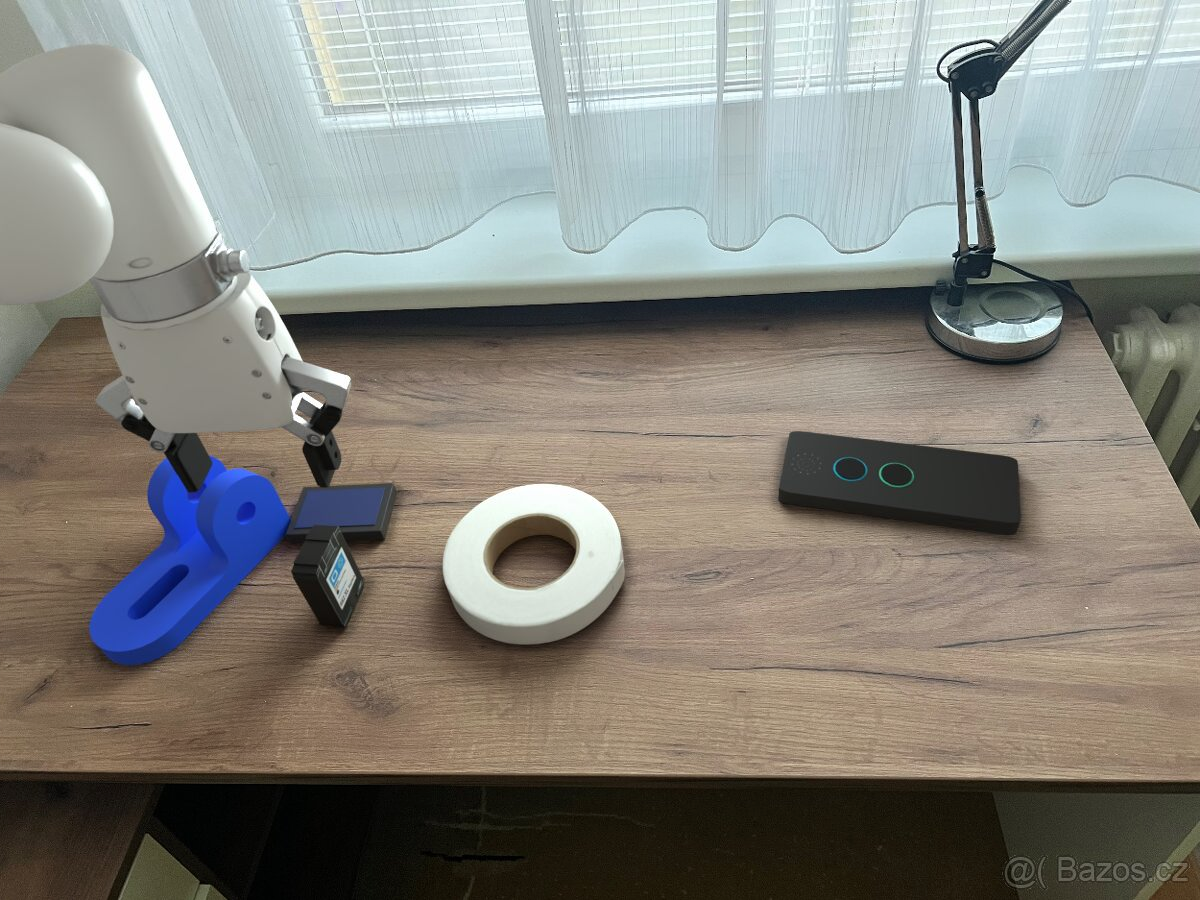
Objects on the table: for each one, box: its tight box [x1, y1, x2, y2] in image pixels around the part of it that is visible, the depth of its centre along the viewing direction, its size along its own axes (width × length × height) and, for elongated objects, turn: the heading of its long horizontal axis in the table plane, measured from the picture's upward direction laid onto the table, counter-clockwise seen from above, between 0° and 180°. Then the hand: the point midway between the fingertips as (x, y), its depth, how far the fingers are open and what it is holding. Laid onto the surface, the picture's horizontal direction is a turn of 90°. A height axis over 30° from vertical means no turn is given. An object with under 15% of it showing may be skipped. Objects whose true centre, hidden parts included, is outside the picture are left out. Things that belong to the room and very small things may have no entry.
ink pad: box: [285, 482, 398, 545], centre depth 82 cm, size 9×6×2 cm, turn 88°
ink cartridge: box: [290, 525, 366, 629], centre depth 73 cm, size 5×2×8 cm, turn 170°
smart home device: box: [777, 430, 1022, 536], centre depth 78 cm, size 8×2×20 cm
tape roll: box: [442, 483, 626, 645], centre depth 75 cm, size 16×15×3 cm
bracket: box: [88, 455, 292, 666], centre depth 76 cm, size 18×8×9 cm, turn 151°
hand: (265, 476), depth 64 cm, fingers open, 9 cm apart
